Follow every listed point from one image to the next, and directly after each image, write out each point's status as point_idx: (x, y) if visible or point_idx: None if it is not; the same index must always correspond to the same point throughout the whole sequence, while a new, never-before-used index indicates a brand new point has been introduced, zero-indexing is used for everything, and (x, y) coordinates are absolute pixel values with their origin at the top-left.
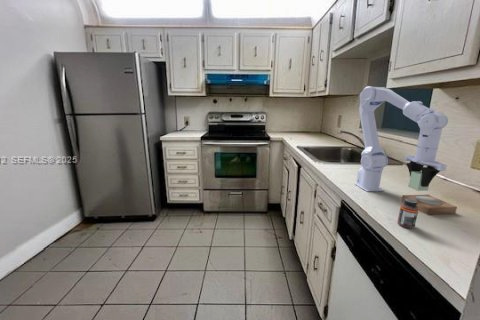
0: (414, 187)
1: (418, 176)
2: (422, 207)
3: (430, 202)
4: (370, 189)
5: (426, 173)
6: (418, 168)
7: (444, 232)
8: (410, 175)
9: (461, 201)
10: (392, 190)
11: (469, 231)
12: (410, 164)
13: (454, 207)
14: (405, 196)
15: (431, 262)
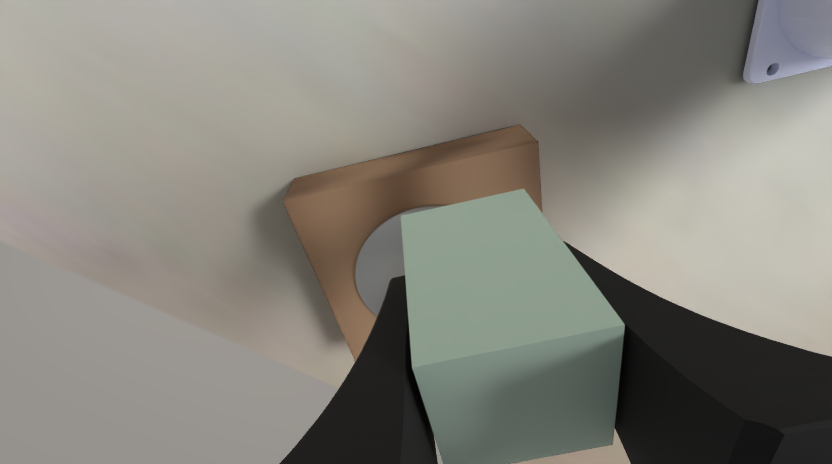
0: (448, 216)
1: (447, 323)
2: (333, 181)
3: (392, 266)
4: None
5: (303, 441)
6: (654, 460)
7: (14, 129)
8: (611, 280)
9: None
10: (736, 173)
11: (128, 278)
12: (777, 435)
13: (353, 354)
14: (508, 149)
15: None
